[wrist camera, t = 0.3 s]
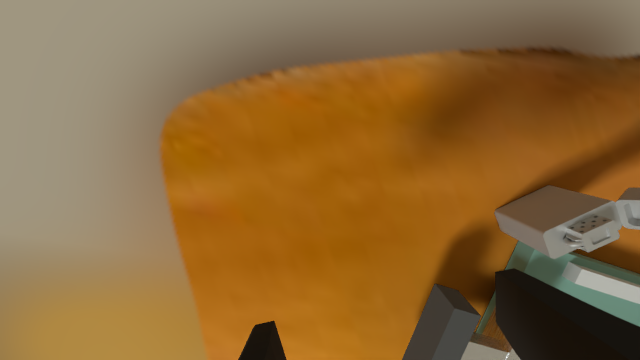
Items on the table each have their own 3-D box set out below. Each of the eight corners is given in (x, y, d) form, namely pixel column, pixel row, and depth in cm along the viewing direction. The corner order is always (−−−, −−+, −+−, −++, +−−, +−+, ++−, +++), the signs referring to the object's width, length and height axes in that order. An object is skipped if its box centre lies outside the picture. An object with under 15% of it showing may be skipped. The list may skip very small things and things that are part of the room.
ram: (480, 400, 21) (514, 454, 18) (385, 375, 20) (401, 426, 17) (537, 284, 20) (585, 319, 16) (437, 253, 19) (466, 282, 16)
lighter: (501, 232, 21) (620, 299, 13) (493, 210, 21) (609, 264, 13) (600, 187, 21) (781, 227, 13) (593, 164, 20) (774, 190, 12)
